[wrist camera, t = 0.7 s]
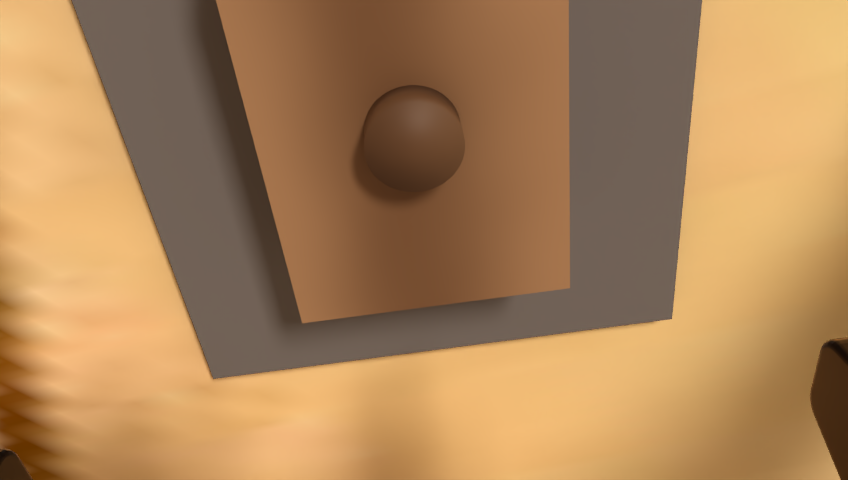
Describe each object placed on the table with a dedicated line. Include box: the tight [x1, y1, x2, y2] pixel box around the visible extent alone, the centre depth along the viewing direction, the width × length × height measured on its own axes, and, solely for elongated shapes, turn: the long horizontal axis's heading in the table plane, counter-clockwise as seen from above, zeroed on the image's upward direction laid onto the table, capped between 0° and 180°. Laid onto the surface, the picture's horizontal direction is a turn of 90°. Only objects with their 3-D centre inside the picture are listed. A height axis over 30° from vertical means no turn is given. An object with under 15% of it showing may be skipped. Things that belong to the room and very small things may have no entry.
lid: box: [216, 0, 570, 323], centre depth 17 cm, size 6×10×4 cm
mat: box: [72, 0, 702, 379], centre depth 19 cm, size 14×18×1 cm
